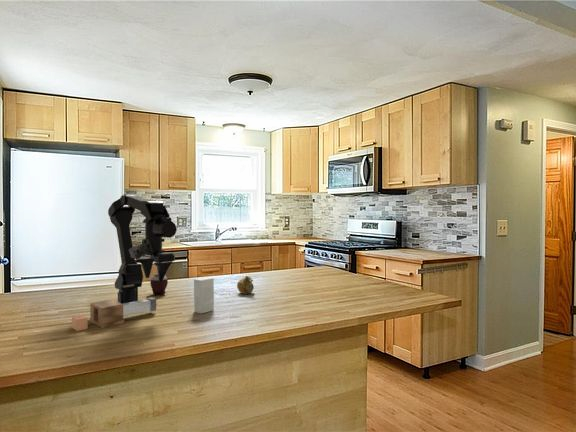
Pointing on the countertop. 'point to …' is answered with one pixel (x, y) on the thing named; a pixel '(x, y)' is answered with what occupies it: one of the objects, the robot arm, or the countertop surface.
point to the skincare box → (203, 294)
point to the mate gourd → (158, 285)
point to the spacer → (79, 322)
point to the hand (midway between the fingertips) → (153, 279)
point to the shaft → (139, 306)
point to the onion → (245, 285)
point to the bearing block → (106, 313)
